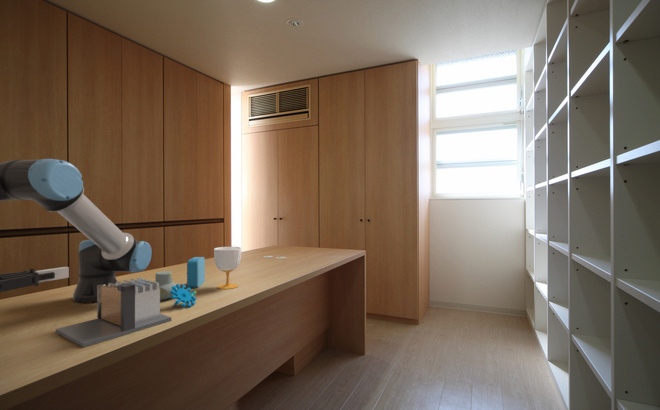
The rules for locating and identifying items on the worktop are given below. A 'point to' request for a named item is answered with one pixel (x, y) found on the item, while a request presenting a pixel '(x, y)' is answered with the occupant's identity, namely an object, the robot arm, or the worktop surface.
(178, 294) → the gear
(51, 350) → the worktop surface
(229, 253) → the cup
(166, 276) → the air freshener
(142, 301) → the heat sink
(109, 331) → the cooler board
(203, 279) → the data package
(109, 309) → the bar
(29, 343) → the worktop surface
